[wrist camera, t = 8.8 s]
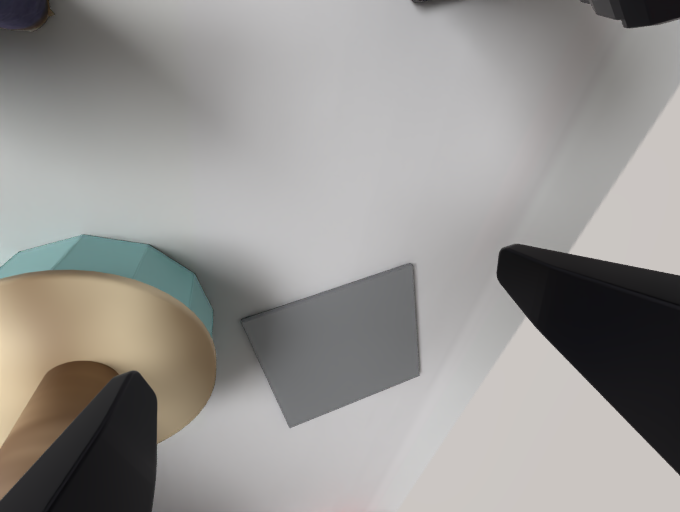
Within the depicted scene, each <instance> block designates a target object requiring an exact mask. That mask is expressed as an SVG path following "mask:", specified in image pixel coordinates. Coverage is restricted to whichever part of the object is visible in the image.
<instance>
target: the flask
mask: <svg viewBox="0 0 680 512" xmlns="http://www.w3.org/2000/svg"><path fill="white" fill-rule="evenodd" d="M53 15H55V14H54V13H53V12H52V10H51V9H50V6H49V0H0V28H2V29H7V30H11V31H14V30H24V31H29V32H33V31H35V30H37V29H38V28H40V27H41V26H42V25H43V23H45V22H46V20H47V18H48V17H50V16H53Z"/></svg>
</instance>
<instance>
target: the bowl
mask: <svg viewBox="0 0 680 512" xmlns="http://www.w3.org/2000/svg"><path fill="white" fill-rule="evenodd" d="M46 270H84V271H96V272H102V273H108V274H114V275H119V276H122V277H126V278H130V279H134V280H137V281H140V282H142V283H145V284H148V285H151V286H153V287H155V288H157V289H159V290H161V291H163V292H165V293H167V294H169V295H171V296H172V297H174V298H176V299H177V300H179V301H180V302H182V303H183V304H184V305H185V306H187V307H188V308H189V309H190V310H191V311H193V312H194V313H195V314H196V316H197V317H198V318H199V319H200V320H201V321H202V322H203V324H204V325H205V327H206V328H207V330H208V332H209V333H210V336H211V338H212V328H213V309H212V307H211V305H210V303H209V301H208V299H207V297H206V295H205V293H204V291H203V289H202V287H201V285H200V283H199V281H198V279H197V277H196V275H195V273H193V272H191V271H190V270H188V269H186V268H185V267H183V266H182V265H180V264H179V263H177V262H175V261H174V260H172V259H171V258H169V257H167V256H166V255H164V254H163V253H161V252H160V251H158V250H156V249H155V248H153V247H152V246H150V245H149V244H141V243H135V242H128V241H122V240H115V239H108V238H102V237H95V236H89V235H80V236H76V237H73V238H69V239H65V240H61V241H58V242H54V243H50V244H46V245H43V246H39V247H35V248H31V249H28V250H24V251H20V252H18V253H17V254H15V255H14V256H13V257H12V258H11V259H10V260H8V261H7V262H6V263H5V264H4V265H2V266H1V267H0V279H2V278H5V277H10V276H14V275H19V274H23V273H29V272H38V271H46Z"/></svg>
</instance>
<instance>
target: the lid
mask: <svg viewBox="0 0 680 512" xmlns="http://www.w3.org/2000/svg"><path fill="white" fill-rule="evenodd" d="M132 370H135V371H138V372H139V373H140V374H141V375H142V376H143V378H144V379H145V380H146V382H147V383H148V384H149V386H150V387H151V388H152V389H153V391H154V392H155V394H156V397H157V444H158V443H160V442H162V441H164V440H165V439H167V438H169V437H171V436H172V435H174V434H175V433H177V432H178V431H180V430H181V429H183V428H184V427H185V426H186V425H188V424H189V423H190V422H191V421H192V420H193V419H194V418H195V417H196V416H197V415H198V414H199V413H200V411H201V410H202V409H203V407H204V406H205V405H206V403H207V401H208V399H209V398H210V396H211V393H212V391H213V388H214V385H215V378H216V351H215V347H214V343H213V340H212V338H211V336H210V333H209V332H208V330H207V328H206V327H205V325H204V324H203V322H202V321H201V320H200V319H199V318H198V317H197V316H196V314H195V313H194V312H193V311H191V310H190V309H189V308H188V307H187V306H185V305H184V304H183V303H182V302H180V301H179V300H177V299H176V298H174V297H172V296H171V295H169V294H167V293H165V292H163V291H161V290H159V289H157V288H155V287H153V286H151V285H148V284H145V283H142V282H140V281H137V280H134V279H130V278H126V277H122V276H119V275H114V274H108V273H102V272H96V271H84V270H46V271H38V272H29V273H23V274H19V275H14V276H10V277H5V278H2V279H0V500H1V499H2V498H3V497H4V496H5V495H6V494H7V492H8V491H9V490H10V489H11V488H12V487H13V486H14V485H15V484H16V483H17V482H18V480H19V479H20V478H21V477H22V476H23V475H24V474H25V473H26V472H27V471H28V470H29V468H30V467H31V466H32V465H33V464H34V463H35V462H36V461H37V460H38V459H39V458H40V456H41V455H42V454H43V453H44V452H45V451H46V450H47V449H48V448H49V447H50V446H51V444H52V443H53V442H54V441H55V440H56V439H57V438H58V437H59V436H60V435H61V434H62V432H63V431H64V430H65V429H66V428H67V427H68V426H69V425H70V424H71V423H72V422H73V420H74V419H75V418H76V417H77V416H78V415H79V414H80V413H81V412H82V411H83V409H84V408H85V407H86V406H87V405H88V404H89V403H90V402H91V401H92V400H93V399H94V397H95V396H96V395H97V394H98V393H99V392H100V391H101V390H102V389H103V388H104V387H105V385H106V384H107V383H108V382H109V381H110V380H111V379H112V378H113V377H115V376H117V375H120V374H123V373H126V372H129V371H132Z"/></svg>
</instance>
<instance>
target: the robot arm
mask: <svg viewBox="0 0 680 512" xmlns="http://www.w3.org/2000/svg"><path fill="white" fill-rule="evenodd" d="M412 1H413V2H422V1H428V0H412ZM580 1H581V2H584V3H588V4H591V6H592V7H593V9H594V11H595V12H596V14H597V15H600V16H604V17H608V18H611V19H615V20H621V21H622V24H623V26H624V28H637V27H644V26H652V25H660V24H663V23H667V22H671V21H674V20H678V19H680V0H580ZM497 278H498V281H499V282H500V284H501V285H502V286H503V288H504V289H505V290H506V291H507V293H508V294H509V295H510V296H511V298H512V299H513V300H514V301H515V303H516V304H517V305H518V306H519V308H520V309H521V310H522V311H523V312H524V314H525V315H526V316H527V317H528V319H529V320H530V321H531V322H532V323H533V325H534V326H535V327H536V328H537V329H538V330H539V331H540V332H541V333H542V335H544V336H545V338H546V339H547V340H548V341H549V342H550V343H551V344H552V345H553V346H554V347H555V348H556V349H557V350H558V351H559V352H560V353H561V354H562V355H563V356H564V357H565V358H566V359H567V360H568V361H569V362H570V363H571V364H572V365H573V366H574V367H575V368H576V369H577V370H578V371H579V373H581V374H582V376H583V377H584V378H585V379H586V380H587V381H588V382H589V383H590V384H591V385H592V386H593V387H594V388H595V389H596V390H597V391H598V392H599V393H600V394H601V395H602V396H603V397H604V398H605V399H606V400H607V401H608V402H609V403H610V404H611V405H612V406H613V407H614V408H615V409H616V410H617V411H618V413H619V414H620V415H621V416H623V418H624V419H625V420H626V421H627V422H628V423H629V424H630V425H631V426H632V427H633V428H634V429H635V430H636V431H637V432H638V433H639V434H640V435H641V436H642V437H643V438H644V439H645V440H646V441H647V442H648V443H649V444H650V445H651V446H652V447H653V448H654V449H655V450H656V451H657V452H658V453H659V454H660V456H661V457H662V458H664V460H665V461H666V462H667V463H668V464H669V465H670V466H671V467H672V468H673V469H674V470H675V471H676V472H677V473H678V474H679V475H680V276H679V275H674V274H669V273H664V272H659V271H654V270H649V269H644V268H638V267H633V266H628V265H623V264H618V263H613V262H608V261H602V260H598V259H593V258H588V257H582V256H577V255H572V254H567V253H562V252H557V251H552V250H547V249H542V248H537V247H532V246H527V245H521V244H513V245H510V246H507V247H504V248H502V249H501V250H500V252H499V257H498V266H497ZM156 467H157V397H156V394H155V392H154V391H153V389H152V388H151V387H150V386H149V384H148V383H147V382H146V380H145V379H144V378H143V376H142V375H141V374H140V373H139V372H138V371H135V370H132V371H129V372H126V373H123V374H120V375H117V376H115V377H113V378H112V379H111V380H110V381H109V382H108V383H107V384H106V385H105V387H104V388H103V389H102V390H101V391H100V392H99V393H98V394H97V395H96V396H95V397H94V399H93V400H92V401H91V402H90V403H89V404H88V405H87V406H86V407H85V408H84V409H83V411H82V412H81V413H80V414H79V415H78V416H77V417H76V418H75V419H74V420H73V422H72V423H71V424H70V425H69V426H68V427H67V428H66V429H65V430H64V431H63V432H62V434H61V435H60V436H59V437H58V438H57V439H56V440H55V441H54V442H53V443H52V444H51V446H50V447H49V448H48V449H47V450H46V451H45V452H44V453H43V454H42V455H41V456H40V458H39V459H38V460H37V461H36V462H35V463H34V464H33V465H32V466H31V467H30V468H29V470H28V471H27V472H26V473H25V474H24V475H23V476H22V477H21V478H20V479H19V480H18V482H17V483H16V484H15V485H14V486H13V487H12V488H11V489H10V490H9V491H8V492H7V494H6V495H5V496H4V497H3V498H2V499H1V500H0V512H152V506H153V498H154V490H155V481H156Z"/></svg>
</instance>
